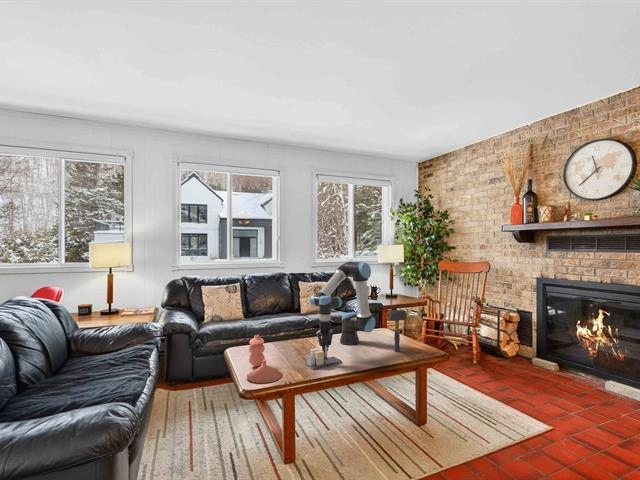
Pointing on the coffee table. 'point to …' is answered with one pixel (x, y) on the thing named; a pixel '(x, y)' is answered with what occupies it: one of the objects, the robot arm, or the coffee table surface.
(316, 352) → the block
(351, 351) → the coffee table surface
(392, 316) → the rubber mallet
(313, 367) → the vise
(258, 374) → the ceramic vessels
